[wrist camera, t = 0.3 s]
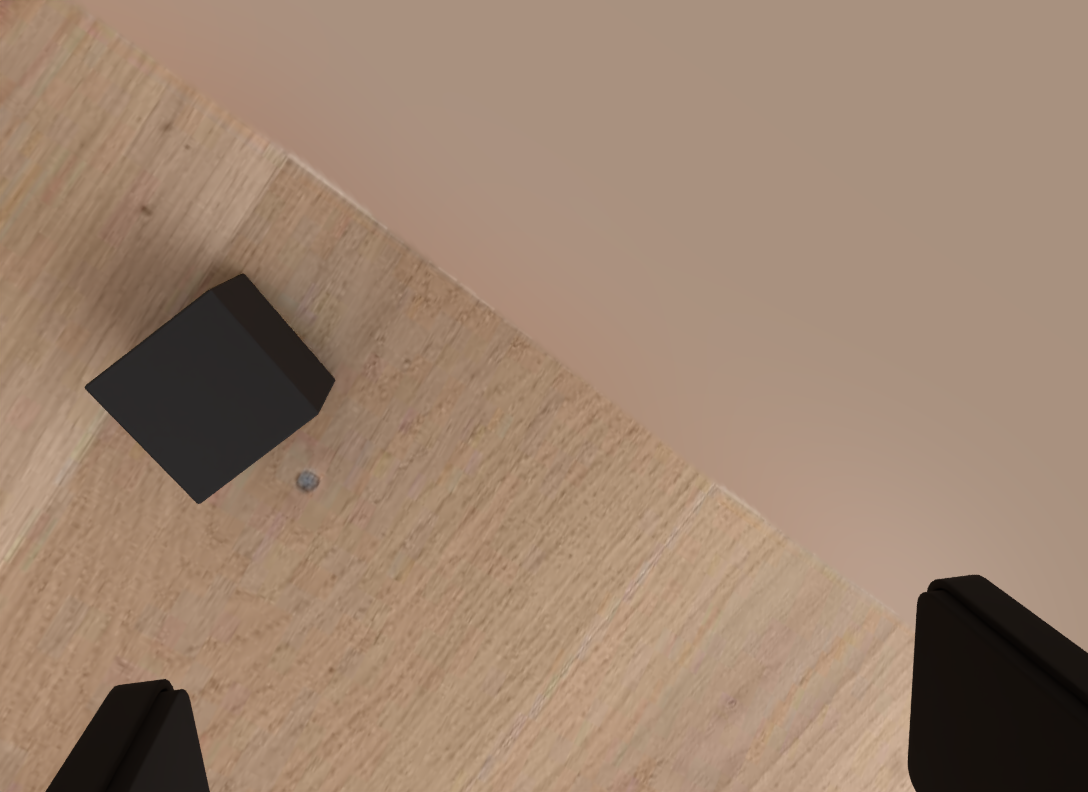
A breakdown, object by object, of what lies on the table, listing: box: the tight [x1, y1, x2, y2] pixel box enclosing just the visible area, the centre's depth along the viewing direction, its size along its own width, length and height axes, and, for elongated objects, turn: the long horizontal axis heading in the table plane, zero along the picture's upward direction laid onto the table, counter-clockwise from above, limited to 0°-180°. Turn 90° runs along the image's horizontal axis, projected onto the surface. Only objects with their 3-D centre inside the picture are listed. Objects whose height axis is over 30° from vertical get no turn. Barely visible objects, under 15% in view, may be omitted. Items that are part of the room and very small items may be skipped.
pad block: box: [85, 274, 335, 504], centre depth 25 cm, size 4×4×4 cm
